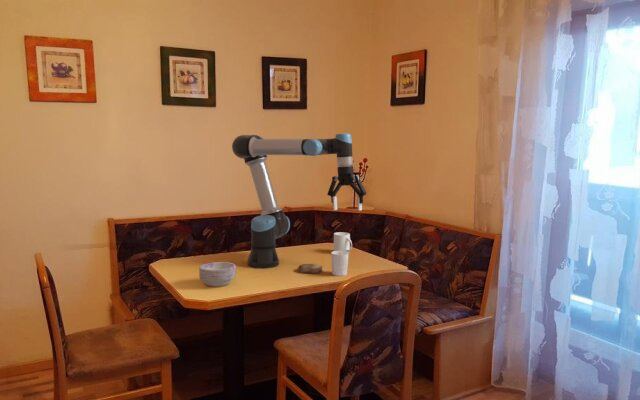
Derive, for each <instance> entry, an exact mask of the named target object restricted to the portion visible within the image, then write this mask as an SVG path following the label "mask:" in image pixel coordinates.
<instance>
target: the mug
mask: <svg viewBox="0 0 640 400" xmlns="http://www.w3.org/2000/svg"><path fill="white" fill-rule="evenodd" d="M352 242H353V241H352V240H351V233H349V232H344V231H343V232H341V231H339V232H337V231H336V232H334V233H333V251H346V252H348V253H349V254H350V252H351V251H352V249H353V243H352Z"/></svg>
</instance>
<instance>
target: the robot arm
mask: <svg viewBox="0 0 640 400" xmlns="http://www.w3.org/2000/svg"><path fill="white" fill-rule="evenodd" d="M231 150H232V152H233V154H234V155H235V156H236V157H237V158H239V159H243V160H244V163H245V165H246V166H248V167H249V170H250V173H251V177H252V180H253V183H254V187H255V190H256V194H257V197H258V202H259V205H260V208H261V211H262V212H261V214H260V215H257V216H254V218H252V219H251V222H250V223H251V224H250V229H251V230H250V235H251V237H250V238H251V248H250V249H251V250H250V252H249V256H248V259H247V266H249V267H250V268H257V269H267V268H274V267H275V268H276V267H277V266H279V265H280V258H279V256H278V253H277V250H276V240H277V239H279V238H283V237H284V236H285V235H286V234H287V233H288V232H289V231H290V228H291V222H290V218H289V217H288V216H286V215H285V213H284V211H283V208H281V207H280V206H279V203H278V200H277V197H276V194H275V190H274V187H273V183H272V180H271V176H270V172H269V170H268V166H267V160H268V156H312V157H316V156H323V155H336V165H337V175H335V176H332V177H331V179H332V180H331V184H330V185H329V188H328V191H327V193H326V194H327V196H330V199H331V204H332V206H333V207H332V210H333V211H338V198H337V194H338V192H339V191H340V190H341V188H342V186H349V187H351V188H352V190H353V191H354V192H355V193H356V195H357V196H356V197H357V201H356V202H357V211H359V212H360V211H362V210H363V203H364V196H366V195H367V191H366V189H365V188H364V185H363V183H362V181H361V177H360V175H355V176H354V166H353V165H354V160H353V140H352V135H351V133H348V132H346V133H337V134H335V136H334V138H305V139H304V138H279V139H278V138H263V137H262V136H260V135H256V134H251V135H250V134H241V135H238V136H236V137H235V138H234V139H233V142H232V143H231ZM354 181H355V182H354Z"/></svg>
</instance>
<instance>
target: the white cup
mask: <svg viewBox="0 0 640 400" xmlns="http://www.w3.org/2000/svg"><path fill="white" fill-rule="evenodd" d="M349 254H350V252H349V253H348V252H346V251H334V250H333V251H331V255H330V256H331V271H332V272H331V274H332V275H333V276H338V277H343V276H347V275H348V266H349Z"/></svg>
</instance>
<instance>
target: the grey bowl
mask: <svg viewBox="0 0 640 400" xmlns="http://www.w3.org/2000/svg"><path fill="white" fill-rule="evenodd" d="M198 270H199V271H198V276H199V279H200V280H202V281H203V282H204V284H206V286H208V287H209V286H210V287H224V286H228V285H229V284H230V283H231V281H232V279H234V278H236V275H237V271H236V270H237V269H236V264H235V263H232V262H229V261H217V262H215V261H214V262H207V263H204V264H201V265H200V266H199V267H198Z"/></svg>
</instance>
